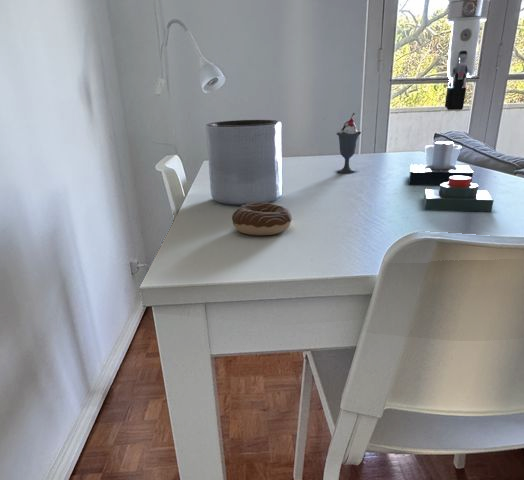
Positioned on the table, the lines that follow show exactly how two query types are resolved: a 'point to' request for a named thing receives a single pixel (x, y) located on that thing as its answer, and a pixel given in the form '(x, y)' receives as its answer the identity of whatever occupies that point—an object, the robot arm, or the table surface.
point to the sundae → (348, 143)
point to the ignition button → (459, 181)
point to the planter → (245, 161)
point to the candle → (454, 155)
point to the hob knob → (442, 155)
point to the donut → (261, 219)
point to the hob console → (435, 174)
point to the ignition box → (458, 198)
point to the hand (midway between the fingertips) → (453, 108)
